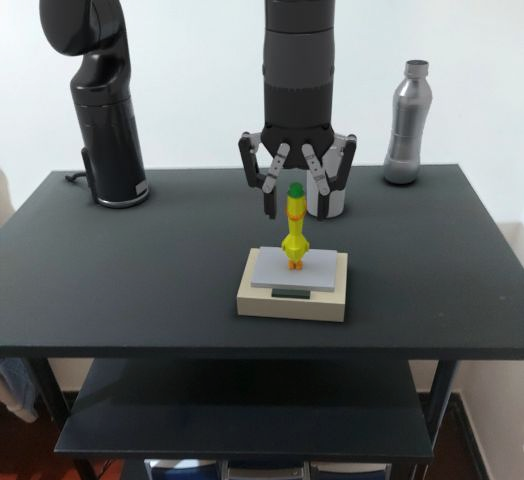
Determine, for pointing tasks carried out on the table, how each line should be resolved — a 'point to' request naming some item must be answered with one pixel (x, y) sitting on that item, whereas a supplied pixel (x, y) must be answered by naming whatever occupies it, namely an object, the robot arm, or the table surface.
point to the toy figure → (295, 226)
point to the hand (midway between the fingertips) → (296, 217)
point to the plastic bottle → (408, 123)
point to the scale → (294, 285)
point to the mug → (312, 189)
